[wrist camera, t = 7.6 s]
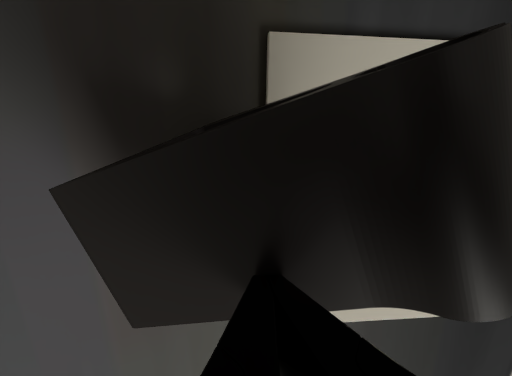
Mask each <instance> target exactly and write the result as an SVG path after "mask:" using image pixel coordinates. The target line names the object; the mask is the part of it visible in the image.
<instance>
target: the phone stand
mask: <svg viewBox="0 0 512 376" xmlns="http://www.w3.org/2000/svg"><path fill="white" fill-rule="evenodd" d="M49 191H50V193H51V195H52V196H53V198H54V200H55V201H56V203H57V205H58V206H59V208H60V210H61V211H62V213H63V214H64V216H65V218H66V219H67V221H68V223H69V224H70V226H71V228H72V229H73V231H74V233H75V234H76V236H77V237H78V239H79V241H80V242H81V244H82V246H83V247H84V249H85V251H86V252H87V254H88V256H89V257H90V259H91V260H92V262H93V264H94V265H95V267H96V269H97V270H98V272H99V274H100V275H101V277H102V279H103V280H104V282H105V283H106V285H107V287H108V288H109V290H110V292H111V293H112V295H113V297H114V298H115V300H116V302H117V303H118V305H119V307H120V308H121V310H122V311H123V313H124V315H125V316H126V318H127V320H128V321H129V323H130V325H131V326H132V328H144V327H156V326H168V325H179V324H191V323H202V322H214V321H225V320H230V319H231V317H232V315H233V313H234V311H235V309H236V307H237V305H238V303H239V301H240V299H241V298H242V296H243V294H244V292H245V290H246V288H247V286H248V284H249V282H250V280H251V278H252V276H253V275H266V276H267V275H269V274H277V275H282V276H283V277H285V278H286V279H287V280H289V281H290V282H291V283H293V284H294V285H295V286H296V287H298V288H299V289H300V290H302V291H303V292H304V293H306V294H307V295H308V296H309V297H311V298H312V299H313V300H315V301H316V302H317V303H319V304H320V305H321V306H322V307H324V308H325V309H326V310H328V311H341V310H353V309H364V308H400V309H408V310H415V311H420V312H425V313H429V314H433V315H436V316H440V317H443V318H447V319H452V320H457V321H465V322H490V321H497V320H502V319H506V318H510V317H512V35H511V24H510V23H508V24H505V22H504V23H501V24H498V25H494V26H491V27H488V28H485V29H482V30H479V31H476V32H473V33H470V34H467V35H464V36H461V37H458V38H455V39H452V40H449V41H446V42H443V43H441V44H438V45H435V46H432V47H429V48H426V49H424V50H421V51H418V52H415V53H412V54H410V55H407V56H404V57H401V58H399V59H396V60H393V61H390V62H387V63H385V64H382V65H379V66H376V67H373V68H371V69H368V70H365V71H362V72H359V73H356V74H353V75H350V76H348V77H345V78H342V79H339V80H336V81H333V82H330V83H327V84H324V85H321V86H318V87H315V88H312V89H310V90H307V91H304V92H301V93H298V94H295V95H292V96H289V97H286V98H283V99H280V100H277V101H274V102H272V103H269V104H266V105H263V106H260V107H257V108H254V109H251V110H248V111H245V112H242V113H239V114H236V115H234V116H231V117H228V118H225V119H222V120H219V121H216V122H214V123H211V124H209V125H207V126H204V127H202V128H199V129H197V130H194V131H192V132H189V133H187V134H184V135H182V136H179V137H177V138H174V139H172V140H170V141H167V142H165V143H162V144H160V145H157V146H155V147H152V148H150V149H147V150H145V151H142V152H140V153H137V154H135V155H133V156H130V157H128V158H125V159H123V160H120V161H118V162H115V163H113V164H110V165H108V166H105V167H103V168H100V169H98V170H96V171H93V172H91V173H88V174H86V175H83V176H81V177H78V178H76V179H73V180H71V181H68V182H66V183H63V184H61V185H59V186H56V187H54V188H51V189H49Z"/></svg>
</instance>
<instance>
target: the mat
mask: <svg viewBox="0 0 512 376" xmlns="http://www.w3.org/2000/svg"><path fill="white" fill-rule="evenodd" d="M446 41H449V40H429V39H409V38H389V37H369V36H349V35H329V34H309V33H289V32H269V33H268V39H267V76H266V104H269V103H272V102H274V101H277V100H280V99H283V98H286V97H289V96H292V95H295V94H298V93H301V92H304V91H307V90H310V89H312V88H315V87H318V86H321V85H324V84H327V83H330V82H333V81H336V80H339V79H342V78H345V77H348V76H350V75H353V74H356V73H359V72H362V71H365V70H368V69H371V68H373V67H376V66H379V65H382V64H385V63H387V62H390V61H393V60H396V59H399V58H401V57H404V56H407V55H410V54H412V53H415V52H418V51H421V50H424V49H426V48H429V47H432V46H435V45H438V44H441V43H443V42H446ZM329 312H330V313H332V314H333V315H334V316H335V317H337V318H338V319H339V320H341V321H342V322H356V321H373V320H390V319H406V318H423V317H440V316H436V315H433V314H429V313H425V312H420V311H415V310H408V309H400V308H364V309H353V310H341V311H329Z"/></svg>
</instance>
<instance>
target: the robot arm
mask: <svg viewBox="0 0 512 376" xmlns="http://www.w3.org/2000/svg"><path fill="white" fill-rule="evenodd" d="M200 376H416V375H414V374H413V373H411V372H410V371H408V370H407V369H405V368H404V367H403V366H401V365H400V364H398V363H397V362H395V361H394V360H392V359H391V358H390V357H388V356H387V355H386V354H384V353H383V352H381V351H380V350H379V349H377V348H376V347H375V346H373V345H372V344H371V343H369V342H368V341H367V340H366V339H364V338H361V336H360V335H359V334H358V333H356V332H355V331H354V330H352V329H351V328H350V327H348V326H347V325H346V324H345V323H343V322H342V321H341V320H339V319H338V318H337V317H335V316H334V315H333V314H332V313H330V312H329V311H328V310H326V309H325V308H324V307H322V306H321V305H320V304H319V303H317V302H316V301H315V300H313V299H312V298H311V297H309V296H308V295H307V294H306V293H304V292H303V291H302V290H300V289H299V288H298V287H296V286H295V285H294V284H293V283H291V282H290V281H289V280H287V279H286V278H285V277H283V276H282V275H277V274H269V275H267V276H266V275H253V276H252V278H251V280H250V282H249V284H248V286H247V288H246V290H245V292H244V294H243V296H242V298H241V299H240V301H239V303H238V305H237V307H236V309H235V311H234V313H233V315H232V317H231V319H230V321H229V323H228V325H227V327H226V329H225V331H224V333H223V335H222V336H221V338H220V340H219V342H218V344H217V347H216V348H215V350H214V352H213V354H212V356H211V358H210V359H209V361H208V363H207V365H206V366H205V368H204V370H203V372H202V374H201V375H200Z"/></svg>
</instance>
